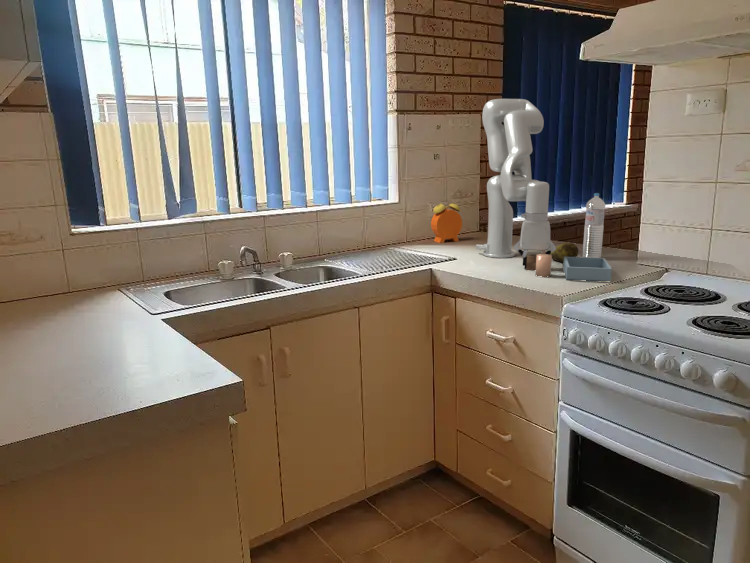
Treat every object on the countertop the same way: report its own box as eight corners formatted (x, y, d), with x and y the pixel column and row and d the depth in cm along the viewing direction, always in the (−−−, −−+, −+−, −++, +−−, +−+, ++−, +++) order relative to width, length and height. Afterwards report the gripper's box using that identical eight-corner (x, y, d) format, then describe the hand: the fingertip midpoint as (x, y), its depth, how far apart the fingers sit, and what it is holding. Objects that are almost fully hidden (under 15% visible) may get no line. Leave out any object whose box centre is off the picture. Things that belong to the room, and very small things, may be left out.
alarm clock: (455, 239, 269) (456, 196, 265) (462, 241, 264) (463, 197, 259) (430, 241, 264) (430, 197, 259) (436, 243, 259) (437, 198, 254)
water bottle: (603, 260, 219) (609, 194, 213) (585, 260, 219) (590, 194, 213) (597, 256, 226) (602, 192, 220) (579, 256, 226) (584, 192, 220)
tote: (566, 280, 189) (567, 267, 188) (562, 268, 205) (563, 256, 204) (610, 282, 185) (611, 268, 184) (603, 270, 202) (604, 258, 201)
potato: (567, 259, 222) (569, 238, 220) (580, 266, 210) (582, 244, 208) (546, 259, 222) (547, 238, 220) (558, 266, 209) (559, 244, 207)
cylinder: (535, 276, 194) (536, 256, 192) (535, 273, 199) (536, 253, 197) (551, 277, 193) (552, 257, 191) (550, 274, 198) (551, 254, 196)
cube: (526, 270, 204) (527, 256, 203) (526, 267, 209) (526, 253, 208) (540, 270, 203) (541, 256, 202) (540, 267, 208) (541, 254, 206)
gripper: (511, 218, 200) (508, 269, 204) (562, 219, 196) (559, 271, 200) (511, 215, 207) (509, 265, 211) (561, 216, 203) (557, 266, 207)
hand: (533, 267), depth 206 cm, fingers closed on cube, 5 cm apart
